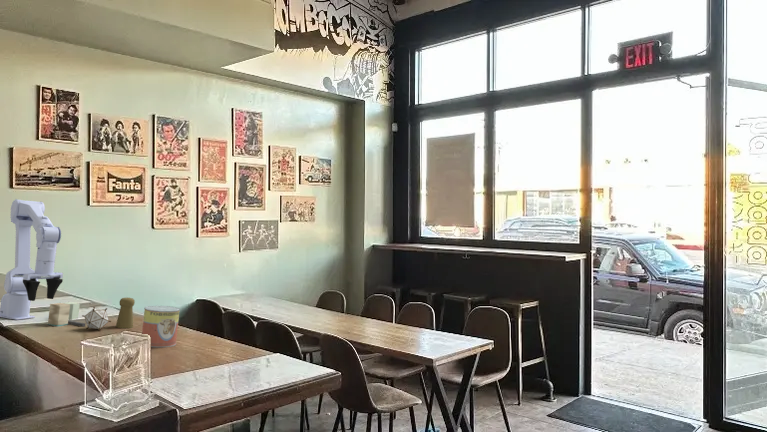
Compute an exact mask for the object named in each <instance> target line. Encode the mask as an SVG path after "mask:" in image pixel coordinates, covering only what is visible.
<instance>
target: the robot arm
mask: <svg viewBox="0 0 767 432" xmlns="http://www.w3.org/2000/svg"><path fill="white" fill-rule="evenodd" d="M45 211H46V206H45V203H44V202H43V201H35V200H25V199H24V200H23V199H19V198H18V199H17V198H15V199H14V200H13V201H12V203H11V205H10V222H11V223H13V224H14V227H15V247H14V248H15V250H14V268H12V269H10V270H8V271H7V272H6V274H5V279H4V284H3V287H4V291H5V292H6V293H5V294H3V296H2V297H1V300H0V318H3V319H10V320H13V321H14V320H16V321H17V320H18V321H19V320H24V319H26V320H27V319H33V318H35V317H36V316H35V315H30V310H31V302H34V301H35V300H36V297H37V291H38V289H39V285H40V284H41V281H39V280H45V281H46V287H47V289H46V298H47V299H49V300H54V297H55V295H56V293H57V291H58V289H59V287H60V286H61V284H62V283H64V282H63V280H64V279H63V278H64V277H63V276H64V273H63V272H59V271H58V272H57V271H56V272H55V263H56V257H57V256H56V255H57V245H58V244H60V241H61V239H62V238H61V237H62V231H61V228H60V227H59V226H54V224H53V223H52V221H51V219H50V218H49V217H48V216H47V215H44V214H45ZM31 227H32V228H33V230H34V231H35V233H36V235H35V240H36V244H35V245H36V246H35V247H36V248H37V250H36V256H35V257H36V259H35V266H34V269H33V268H31V232H32V231H31Z"/></svg>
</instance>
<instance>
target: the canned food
mask: <svg viewBox="0 0 767 432" xmlns="http://www.w3.org/2000/svg"><path fill="white" fill-rule="evenodd" d="M180 310H181V308H179V307H175V306H170V305H147V306H144V311H143V321H142V328H141V329H142V331H141V335H142V334H148V335H150V337H151V347H150V348H171V347H175V346H176V345H177V337H178V329H179V328H178V327H179V320H180V319H179V318H180Z"/></svg>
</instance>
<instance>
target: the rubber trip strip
mask: <svg viewBox="0 0 767 432" xmlns="http://www.w3.org/2000/svg"><path fill="white" fill-rule="evenodd" d="M68 325H73V326H77V327H86V322H79V321H73V320H68Z"/></svg>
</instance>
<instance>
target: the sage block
mask: <svg viewBox="0 0 767 432" xmlns="http://www.w3.org/2000/svg"><path fill="white" fill-rule="evenodd" d="M63 303H64V304H70V310H69V319H68V321H73V320H76V319H79V316H80V315H79V314H80V307H81V306H80V305H81V303H80V302H75V301H74V302H73V301H65V302H63Z"/></svg>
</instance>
